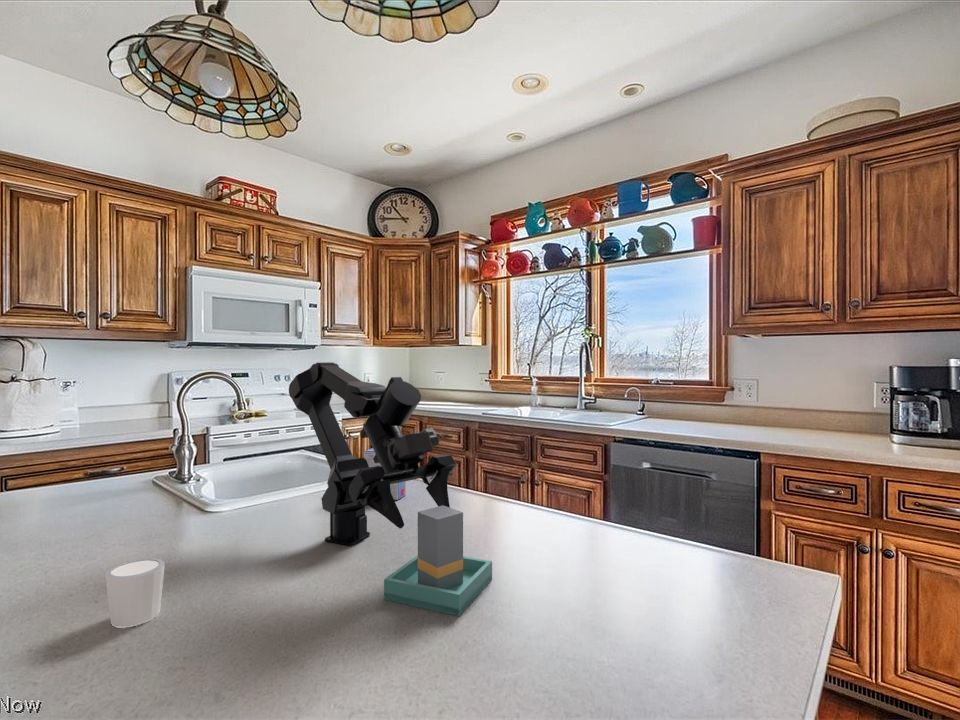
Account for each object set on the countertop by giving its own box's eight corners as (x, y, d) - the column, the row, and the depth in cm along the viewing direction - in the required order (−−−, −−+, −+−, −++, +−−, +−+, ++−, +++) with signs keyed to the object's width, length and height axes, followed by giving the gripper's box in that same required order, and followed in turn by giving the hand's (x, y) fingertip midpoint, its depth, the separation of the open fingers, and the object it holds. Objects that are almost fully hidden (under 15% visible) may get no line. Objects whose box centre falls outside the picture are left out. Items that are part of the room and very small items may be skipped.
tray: (384, 599, 74) (384, 579, 74) (425, 567, 86) (425, 549, 86) (459, 616, 69) (459, 594, 69) (492, 579, 81) (492, 561, 81)
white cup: (125, 606, 72) (125, 558, 72) (174, 604, 73) (174, 556, 73) (92, 632, 65) (92, 579, 65) (147, 630, 66) (147, 577, 66)
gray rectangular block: (417, 582, 78) (417, 511, 78) (443, 572, 81) (442, 505, 81) (437, 593, 74) (437, 519, 74) (463, 583, 77) (463, 512, 77)
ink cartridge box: (406, 494, 131) (406, 439, 130) (399, 500, 125) (399, 443, 125) (371, 492, 133) (371, 438, 132) (362, 498, 127) (362, 442, 127)
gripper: (357, 418, 77) (397, 505, 70) (450, 409, 90) (492, 482, 82) (333, 460, 83) (367, 545, 75) (424, 446, 96) (461, 517, 88)
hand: (426, 520), depth 80 cm, fingers open, 9 cm apart
